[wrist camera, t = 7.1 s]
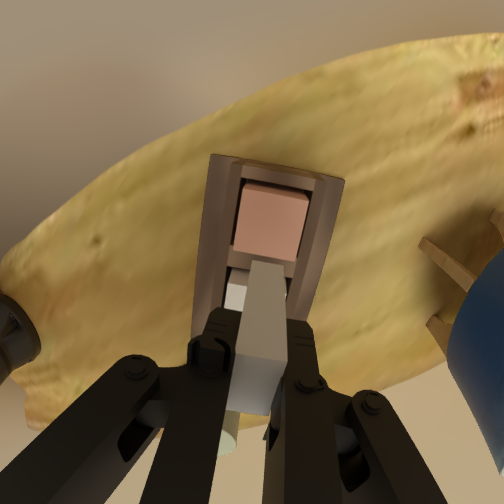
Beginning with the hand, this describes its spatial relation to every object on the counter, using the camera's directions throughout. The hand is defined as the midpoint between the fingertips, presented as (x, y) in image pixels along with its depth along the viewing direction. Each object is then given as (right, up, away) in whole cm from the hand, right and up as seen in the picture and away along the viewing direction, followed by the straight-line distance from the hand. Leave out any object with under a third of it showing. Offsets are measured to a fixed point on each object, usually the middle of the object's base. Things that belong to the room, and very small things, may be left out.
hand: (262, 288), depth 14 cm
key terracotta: (+1, +6, +14) cm, 16 cm away
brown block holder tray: (0, 0, +20) cm, 20 cm away
